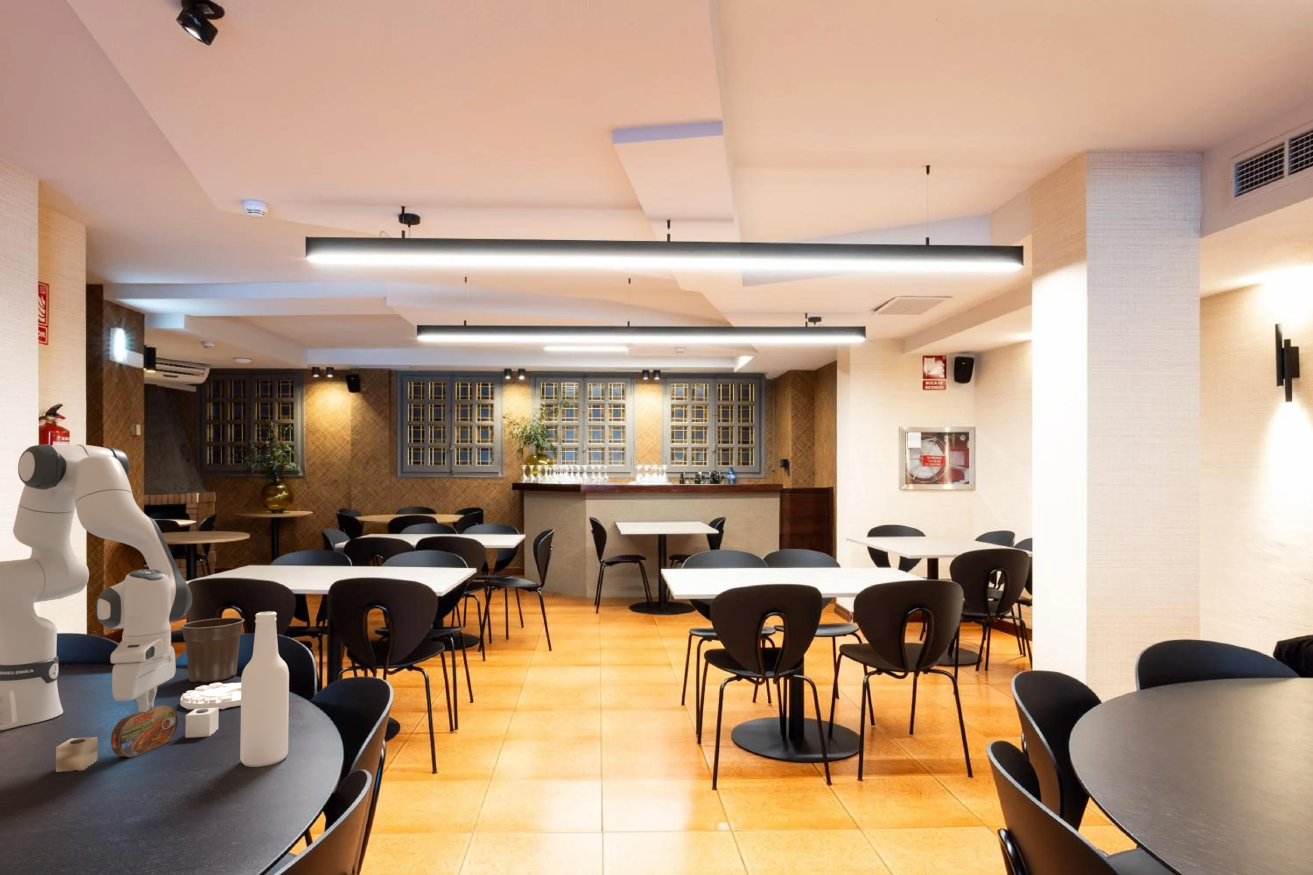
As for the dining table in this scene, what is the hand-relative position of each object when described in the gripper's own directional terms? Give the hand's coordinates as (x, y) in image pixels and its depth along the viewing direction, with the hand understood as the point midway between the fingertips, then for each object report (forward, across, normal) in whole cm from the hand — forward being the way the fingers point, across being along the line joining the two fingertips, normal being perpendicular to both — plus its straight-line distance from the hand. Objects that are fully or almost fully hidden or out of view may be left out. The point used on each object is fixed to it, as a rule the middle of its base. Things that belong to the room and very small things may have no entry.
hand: (146, 710), depth 167 cm
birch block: (+8, +8, -9) cm, 15 cm away
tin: (+9, 0, 0) cm, 9 cm away
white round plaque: (+9, -37, +2) cm, 38 cm away
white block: (+8, -9, +8) cm, 15 cm away
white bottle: (+9, +12, +28) cm, 31 cm away
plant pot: (+8, -63, -10) cm, 64 cm away
